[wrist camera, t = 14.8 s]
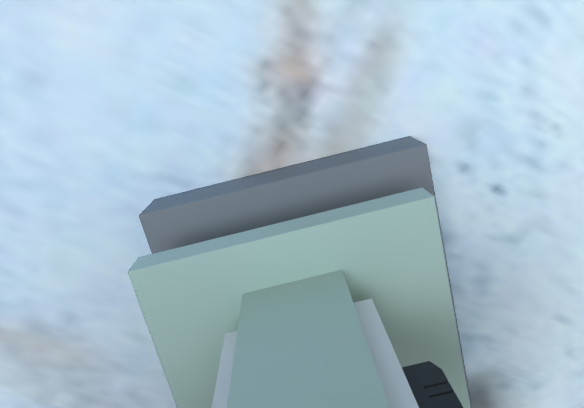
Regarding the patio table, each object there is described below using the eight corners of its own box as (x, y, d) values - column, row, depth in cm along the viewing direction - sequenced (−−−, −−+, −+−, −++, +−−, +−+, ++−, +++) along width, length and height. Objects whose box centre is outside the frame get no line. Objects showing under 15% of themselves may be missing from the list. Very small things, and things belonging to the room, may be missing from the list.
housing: (251, 489, 31) (248, 535, 28) (154, 199, 26) (137, 216, 23) (465, 442, 31) (485, 484, 28) (409, 136, 26) (427, 145, 22)
